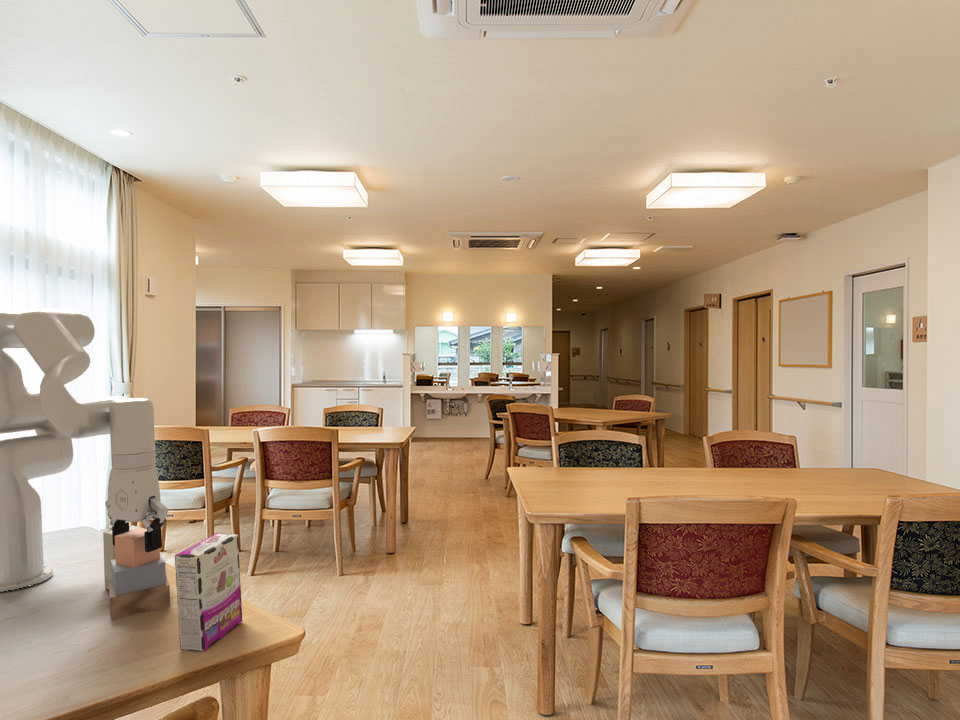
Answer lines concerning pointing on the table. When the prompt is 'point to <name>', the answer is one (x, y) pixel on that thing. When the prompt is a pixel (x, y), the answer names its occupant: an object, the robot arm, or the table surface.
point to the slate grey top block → (138, 576)
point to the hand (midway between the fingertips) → (137, 546)
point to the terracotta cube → (133, 549)
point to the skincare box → (110, 554)
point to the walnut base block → (138, 600)
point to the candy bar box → (208, 591)
